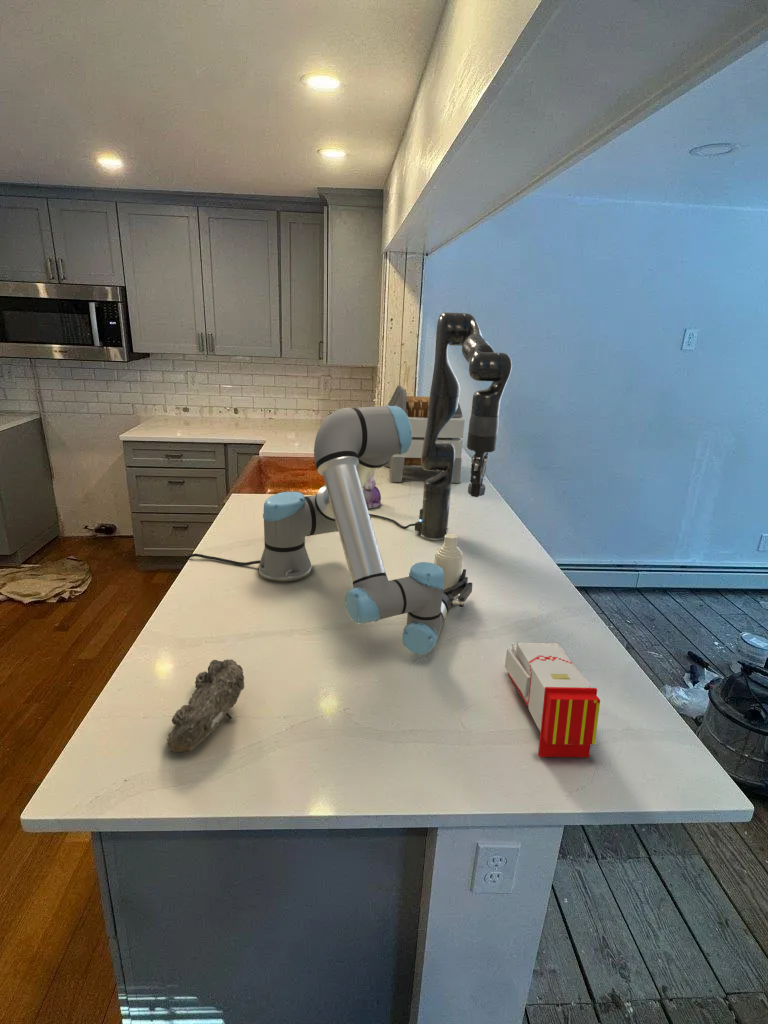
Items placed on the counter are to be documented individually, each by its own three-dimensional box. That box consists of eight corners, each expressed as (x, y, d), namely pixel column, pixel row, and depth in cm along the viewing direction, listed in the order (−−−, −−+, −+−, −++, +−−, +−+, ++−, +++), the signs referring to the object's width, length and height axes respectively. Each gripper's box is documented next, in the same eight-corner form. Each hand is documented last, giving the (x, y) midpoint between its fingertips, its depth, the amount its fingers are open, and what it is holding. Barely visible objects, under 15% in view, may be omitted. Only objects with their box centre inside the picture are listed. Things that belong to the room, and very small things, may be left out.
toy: (553, 625, 127) (610, 695, 97) (548, 680, 129) (601, 765, 100) (500, 624, 126) (540, 694, 97) (495, 679, 129) (533, 764, 100)
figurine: (365, 510, 221) (366, 473, 215) (354, 502, 229) (355, 466, 224) (386, 507, 225) (388, 471, 220) (375, 500, 233) (376, 464, 228)
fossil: (192, 660, 117) (244, 628, 112) (224, 691, 120) (276, 661, 115) (142, 746, 98) (202, 712, 93) (182, 779, 101) (242, 748, 96)
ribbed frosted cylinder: (428, 603, 153) (435, 539, 147) (432, 591, 160) (438, 529, 153) (456, 608, 152) (464, 543, 145) (458, 595, 159) (466, 532, 152)
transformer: (382, 463, 289) (386, 382, 275) (445, 464, 293) (451, 384, 279) (390, 482, 257) (394, 392, 243) (460, 483, 261) (468, 394, 247)
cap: (487, 495, 152) (488, 487, 151) (471, 496, 151) (472, 488, 150) (480, 490, 156) (481, 482, 155) (465, 491, 155) (466, 482, 154)
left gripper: (391, 615, 141) (413, 577, 162) (472, 631, 136) (485, 589, 157) (392, 588, 139) (414, 553, 159) (475, 603, 133) (487, 564, 154)
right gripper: (472, 424, 155) (466, 484, 161) (464, 435, 142) (457, 500, 148) (500, 427, 153) (493, 487, 159) (494, 439, 140) (486, 504, 146)
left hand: (449, 571), depth 158 cm, fingers closed on ribbed frosted cylinder, 8 cm apart
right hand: (476, 493), depth 154 cm, fingers closed on cap, 4 cm apart
